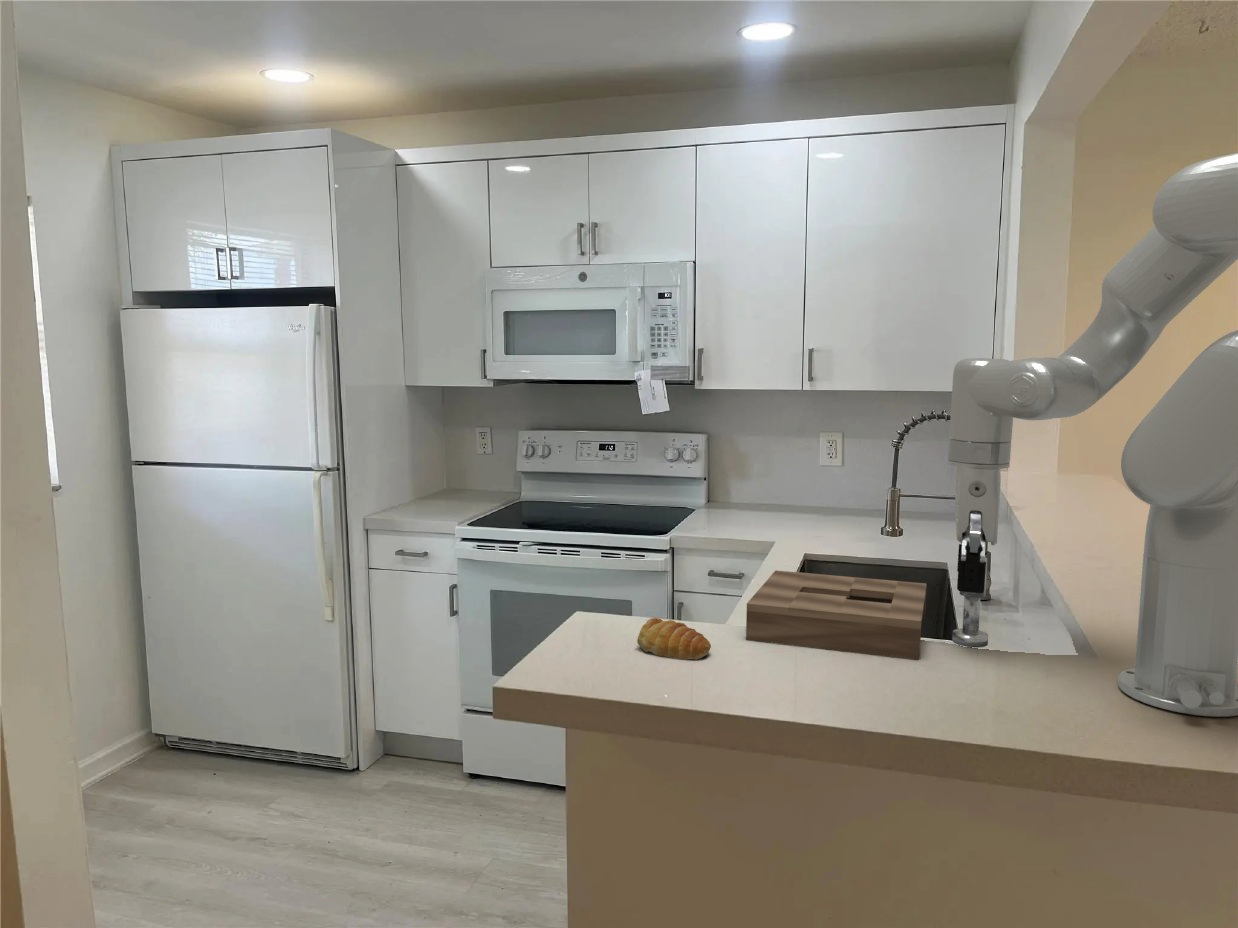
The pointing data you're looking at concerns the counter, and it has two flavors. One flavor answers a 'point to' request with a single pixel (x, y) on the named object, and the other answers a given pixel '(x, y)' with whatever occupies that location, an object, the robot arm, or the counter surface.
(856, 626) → the keyhole plate
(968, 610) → the keyhole bolt
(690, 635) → the pastry
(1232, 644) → the robot arm
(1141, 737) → the counter surface
